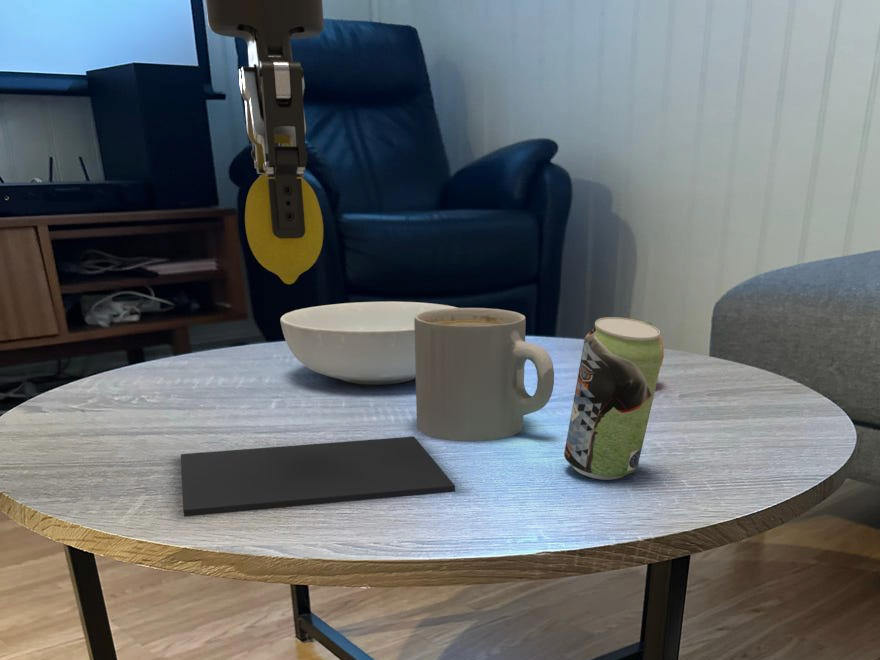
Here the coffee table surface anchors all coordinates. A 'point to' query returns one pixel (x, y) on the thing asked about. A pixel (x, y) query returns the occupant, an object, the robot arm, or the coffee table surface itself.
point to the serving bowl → (357, 340)
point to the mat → (308, 475)
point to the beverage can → (613, 397)
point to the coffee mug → (476, 373)
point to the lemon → (282, 252)
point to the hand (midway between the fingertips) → (284, 232)
